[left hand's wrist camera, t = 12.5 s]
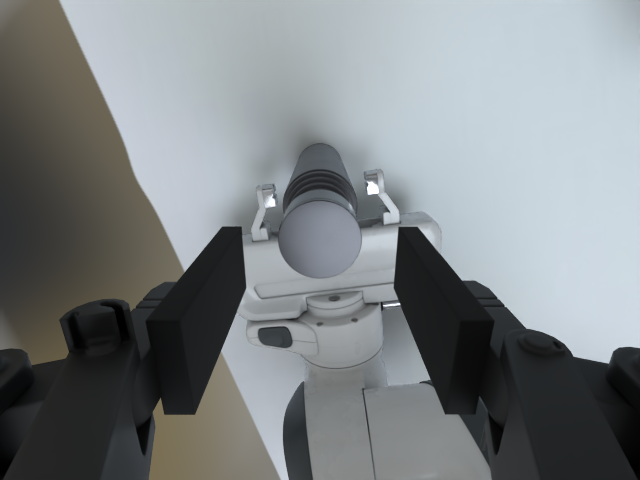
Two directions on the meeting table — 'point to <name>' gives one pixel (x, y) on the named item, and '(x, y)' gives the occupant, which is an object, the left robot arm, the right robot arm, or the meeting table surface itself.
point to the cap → (319, 234)
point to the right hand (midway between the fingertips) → (318, 178)
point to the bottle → (319, 175)
